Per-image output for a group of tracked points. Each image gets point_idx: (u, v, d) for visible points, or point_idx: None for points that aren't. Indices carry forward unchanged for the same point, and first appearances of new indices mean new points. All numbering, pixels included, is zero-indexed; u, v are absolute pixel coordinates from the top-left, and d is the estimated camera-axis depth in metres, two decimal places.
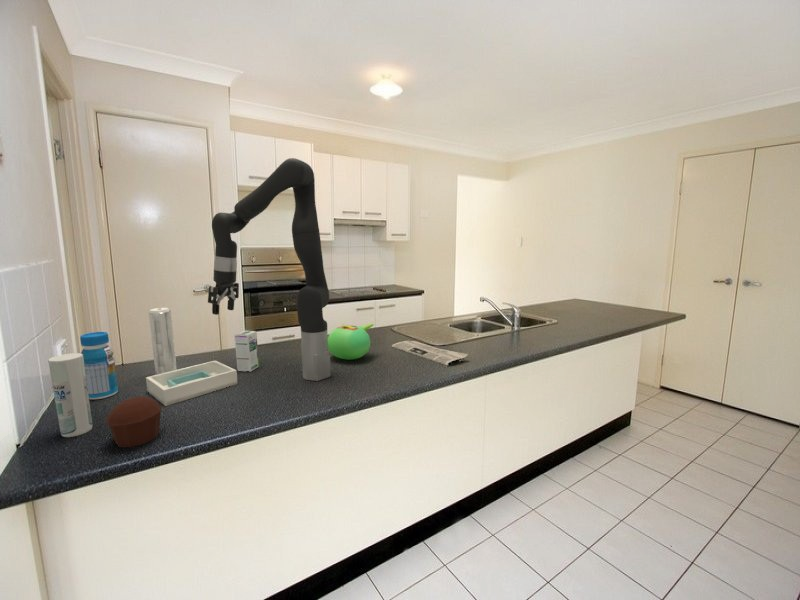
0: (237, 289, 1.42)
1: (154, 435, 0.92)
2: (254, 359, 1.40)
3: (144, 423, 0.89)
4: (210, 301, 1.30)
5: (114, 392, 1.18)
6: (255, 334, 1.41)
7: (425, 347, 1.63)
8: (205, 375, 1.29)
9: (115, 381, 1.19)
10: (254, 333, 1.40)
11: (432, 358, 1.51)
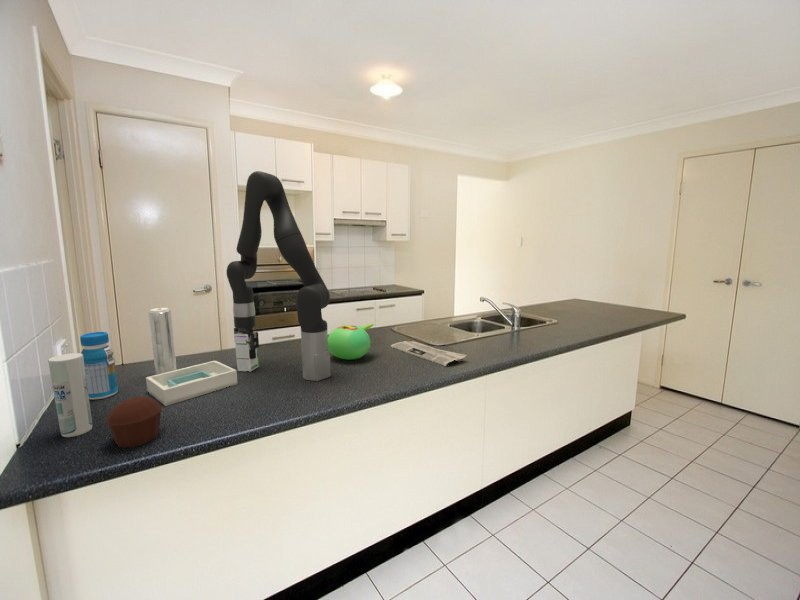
0: None
1: (154, 435, 0.92)
2: (254, 359, 1.40)
3: (144, 423, 0.89)
4: (255, 346, 1.36)
5: (114, 392, 1.18)
6: None
7: (424, 347, 1.62)
8: (205, 375, 1.29)
9: (115, 381, 1.19)
10: None
11: (430, 358, 1.50)
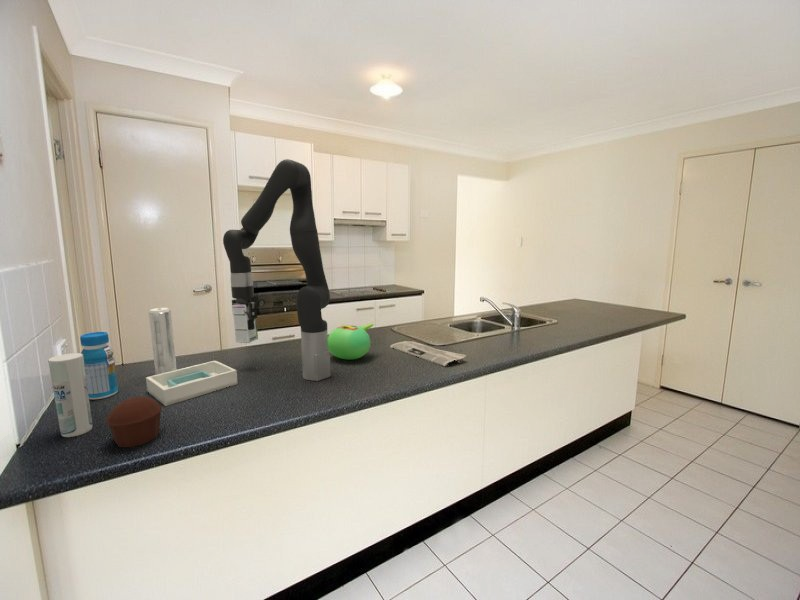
0: None
1: (154, 435, 0.92)
2: (253, 330, 1.38)
3: (144, 423, 0.89)
4: (253, 316, 1.34)
5: (114, 392, 1.18)
6: None
7: (424, 348, 1.62)
8: (205, 375, 1.29)
9: (115, 381, 1.19)
10: None
11: (430, 359, 1.50)
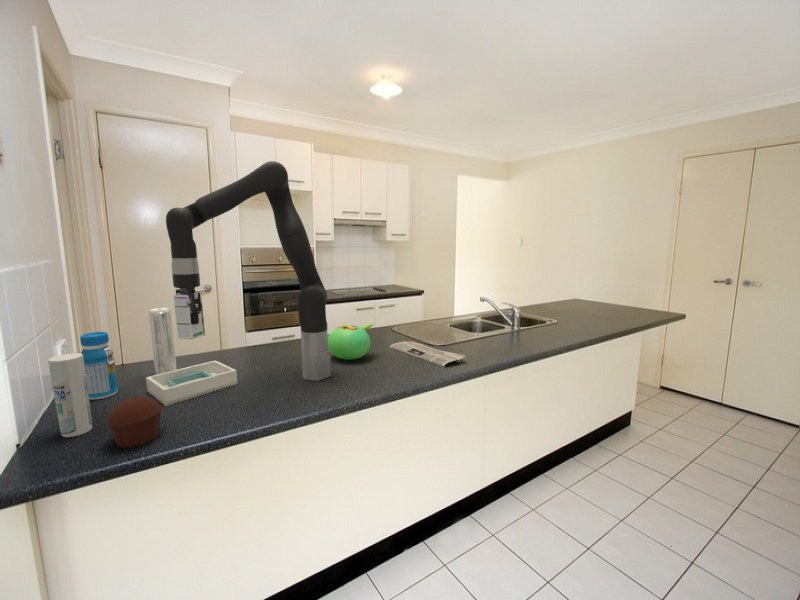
0: None
1: (154, 435, 0.92)
2: (198, 325, 1.21)
3: (144, 423, 0.89)
4: (196, 309, 1.16)
5: (114, 392, 1.18)
6: None
7: (423, 348, 1.61)
8: (205, 375, 1.29)
9: (115, 381, 1.19)
10: None
11: (429, 359, 1.49)
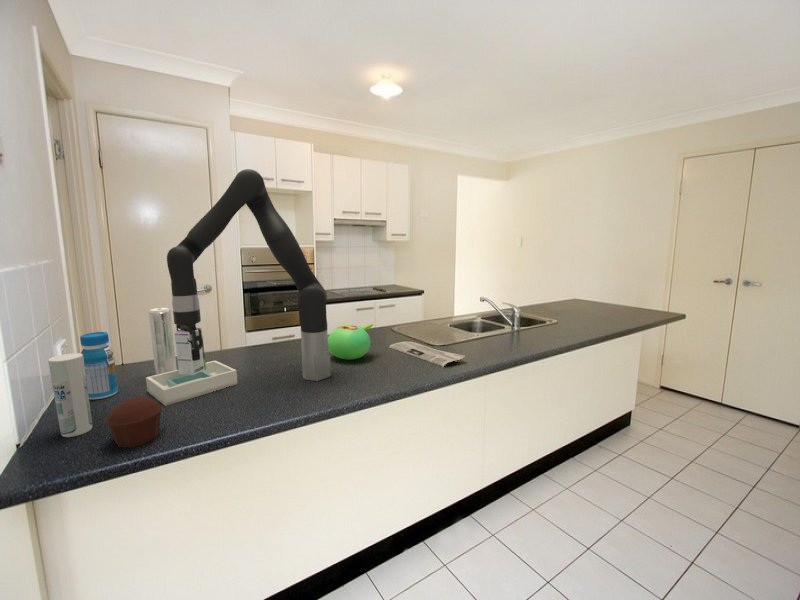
0: None
1: (154, 435, 0.92)
2: (199, 360, 1.21)
3: (144, 423, 0.89)
4: (197, 346, 1.17)
5: (114, 392, 1.18)
6: None
7: (422, 348, 1.61)
8: (205, 375, 1.29)
9: (115, 381, 1.19)
10: None
11: (429, 359, 1.49)
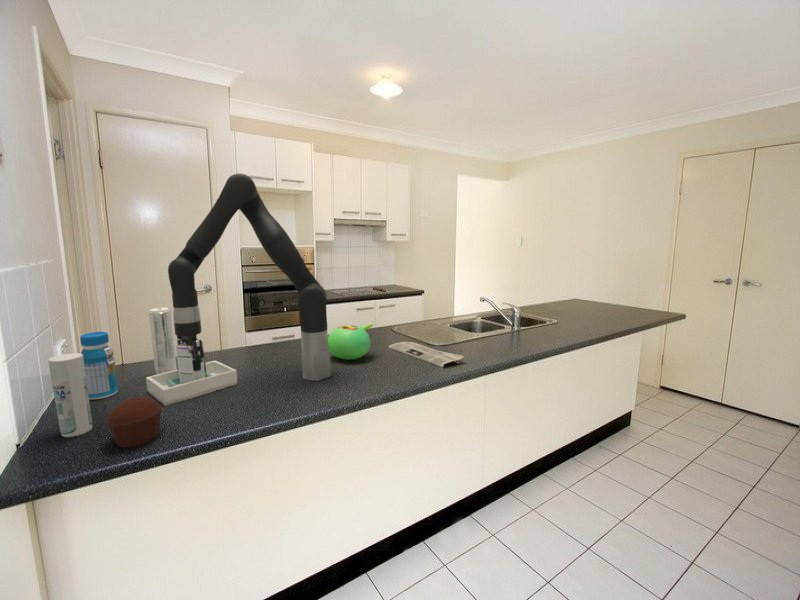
0: None
1: (154, 435, 0.92)
2: (200, 374, 1.22)
3: (144, 423, 0.89)
4: (198, 357, 1.17)
5: (114, 392, 1.18)
6: None
7: (422, 348, 1.61)
8: None
9: (115, 381, 1.19)
10: None
11: (428, 359, 1.49)
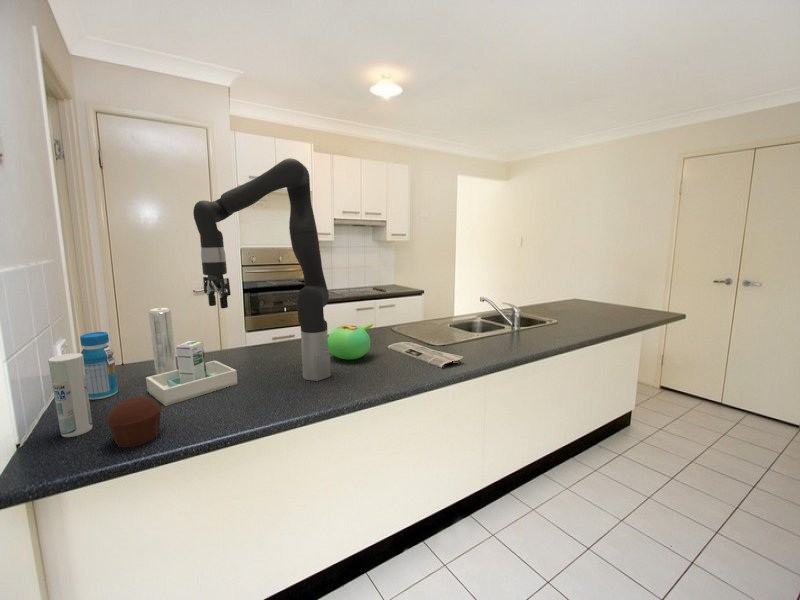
0: None
1: (154, 435, 0.92)
2: (200, 374, 1.22)
3: (144, 423, 0.89)
4: (226, 293, 1.25)
5: (114, 392, 1.18)
6: (201, 345, 1.23)
7: (421, 349, 1.60)
8: None
9: (115, 381, 1.19)
10: (200, 344, 1.22)
11: (427, 360, 1.48)
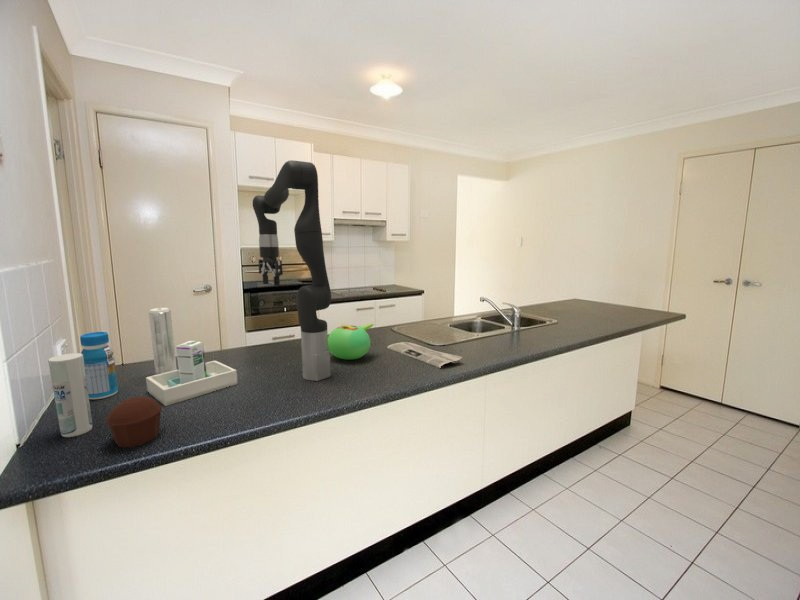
0: None
1: (154, 435, 0.92)
2: (200, 374, 1.22)
3: (144, 423, 0.89)
4: (279, 273, 1.50)
5: (114, 392, 1.18)
6: (201, 345, 1.23)
7: (420, 349, 1.60)
8: None
9: (115, 381, 1.19)
10: (200, 344, 1.22)
11: (426, 360, 1.48)
